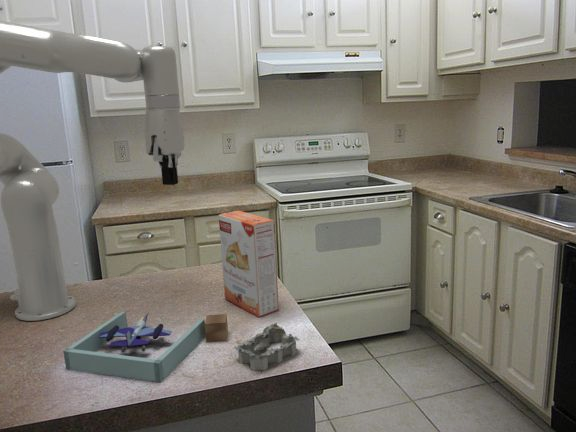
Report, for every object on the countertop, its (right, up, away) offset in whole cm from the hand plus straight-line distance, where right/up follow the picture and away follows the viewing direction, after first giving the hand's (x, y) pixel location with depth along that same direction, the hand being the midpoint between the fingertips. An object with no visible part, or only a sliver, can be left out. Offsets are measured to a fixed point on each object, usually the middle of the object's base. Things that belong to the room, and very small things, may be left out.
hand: (170, 184), depth 113 cm
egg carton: (+24, -33, -26) cm, 48 cm away
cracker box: (+19, -28, -3) cm, 34 cm away
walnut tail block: (+14, -32, -18) cm, 39 cm away
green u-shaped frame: (0, -33, -22) cm, 40 cm away
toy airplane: (-2, -32, -19) cm, 37 cm away
